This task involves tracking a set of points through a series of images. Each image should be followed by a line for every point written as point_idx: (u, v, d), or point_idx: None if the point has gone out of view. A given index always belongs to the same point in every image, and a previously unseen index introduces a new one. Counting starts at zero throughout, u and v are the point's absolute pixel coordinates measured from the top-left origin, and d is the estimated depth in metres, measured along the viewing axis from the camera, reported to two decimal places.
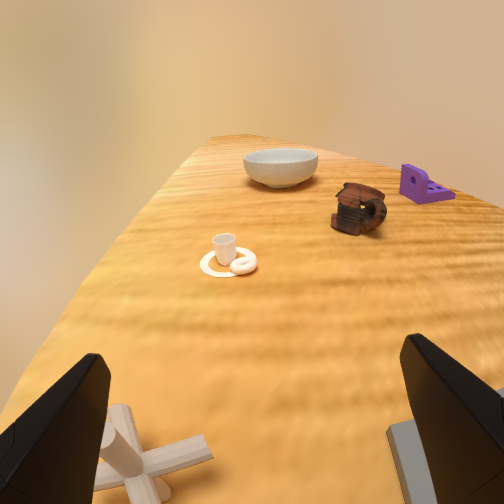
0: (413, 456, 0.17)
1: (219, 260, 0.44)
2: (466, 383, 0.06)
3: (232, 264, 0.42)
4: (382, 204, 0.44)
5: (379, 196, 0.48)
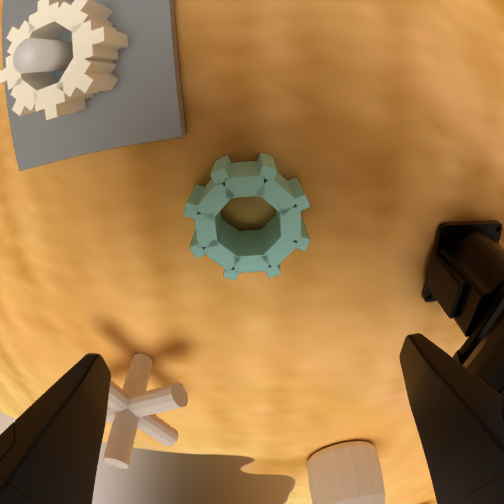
0: (53, 143, 0.15)
1: None
2: (466, 383, 0.06)
3: None
4: None
5: None
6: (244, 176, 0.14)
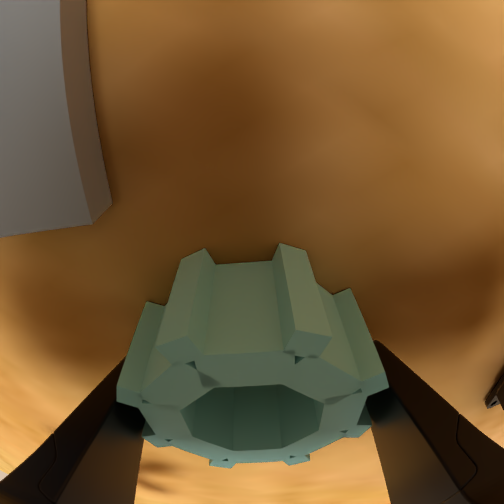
0: None
1: None
2: (419, 397, 0.06)
3: None
4: None
5: None
6: (245, 351, 0.05)
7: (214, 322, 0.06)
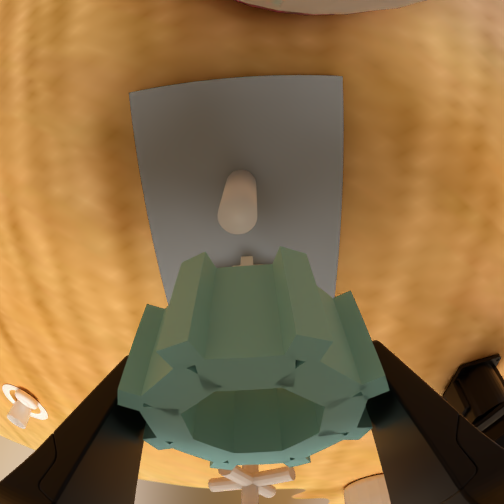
0: None
1: (30, 412, 0.32)
2: (419, 397, 0.06)
3: (31, 408, 0.30)
4: None
5: None
6: (245, 355, 0.05)
7: (215, 326, 0.06)
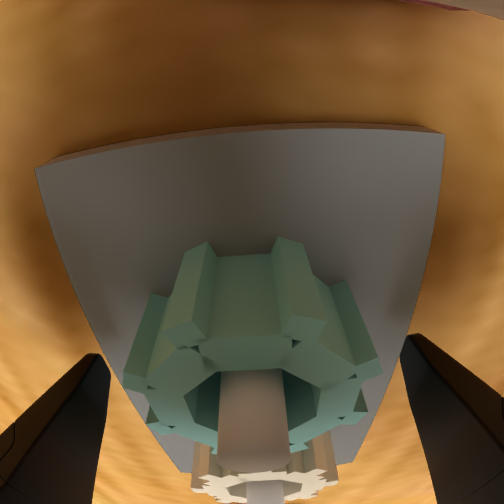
0: None
1: None
2: (466, 383, 0.06)
3: None
4: None
5: None
6: (245, 335, 0.06)
7: (216, 309, 0.07)
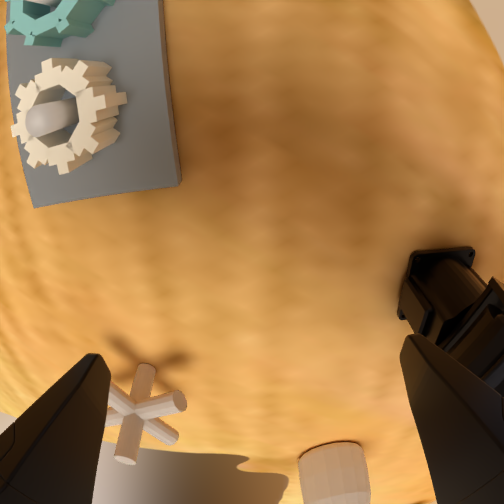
0: (64, 186, 0.18)
1: None
2: (466, 383, 0.06)
3: None
4: None
5: None
6: None
7: None
